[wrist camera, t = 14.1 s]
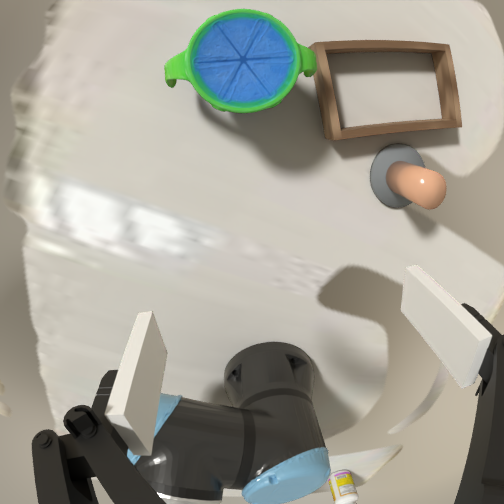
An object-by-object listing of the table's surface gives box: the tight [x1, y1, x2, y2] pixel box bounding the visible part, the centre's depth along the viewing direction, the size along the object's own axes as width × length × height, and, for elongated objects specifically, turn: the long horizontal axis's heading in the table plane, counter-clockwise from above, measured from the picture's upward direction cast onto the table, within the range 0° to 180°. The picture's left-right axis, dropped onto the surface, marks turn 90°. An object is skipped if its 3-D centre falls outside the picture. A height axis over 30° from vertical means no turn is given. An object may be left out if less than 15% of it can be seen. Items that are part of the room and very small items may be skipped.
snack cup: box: [164, 9, 317, 113], centre depth 30 cm, size 16×10×10 cm
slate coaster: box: [370, 144, 425, 208], centre depth 41 cm, size 9×9×1 cm
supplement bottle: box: [328, 470, 358, 504], centre depth 67 cm, size 7×7×13 cm
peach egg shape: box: [386, 161, 446, 209], centre depth 37 cm, size 5×5×8 cm
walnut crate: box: [308, 40, 462, 141], centre depth 34 cm, size 12×20×4 cm, turn 102°
